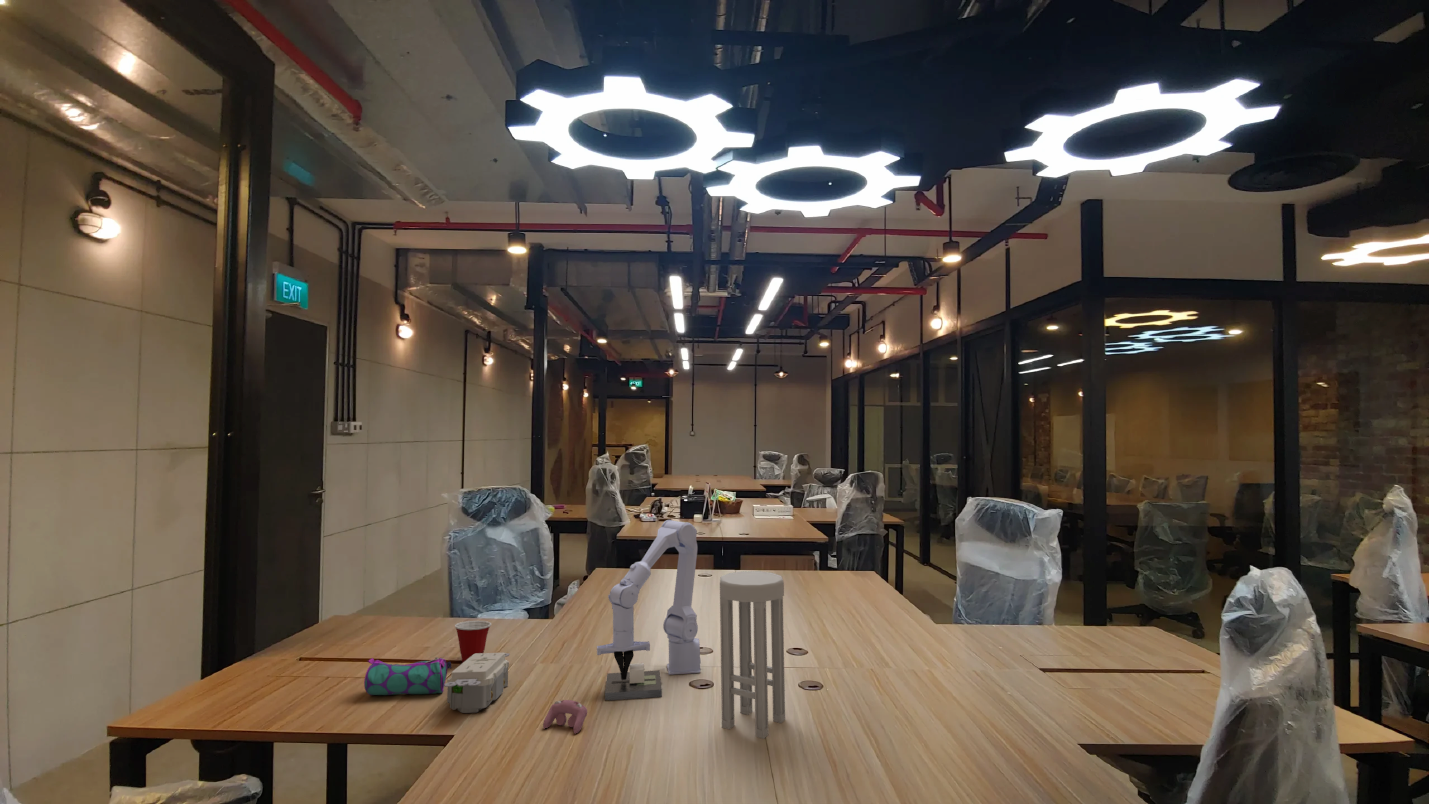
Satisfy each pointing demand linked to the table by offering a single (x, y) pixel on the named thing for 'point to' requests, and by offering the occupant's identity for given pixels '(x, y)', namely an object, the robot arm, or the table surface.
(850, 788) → the table surface
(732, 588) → the stool
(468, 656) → the plastic cup
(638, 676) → the lever
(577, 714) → the video game controller
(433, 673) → the pencil case
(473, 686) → the electrical outlet
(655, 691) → the breaker panel
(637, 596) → the robot arm
